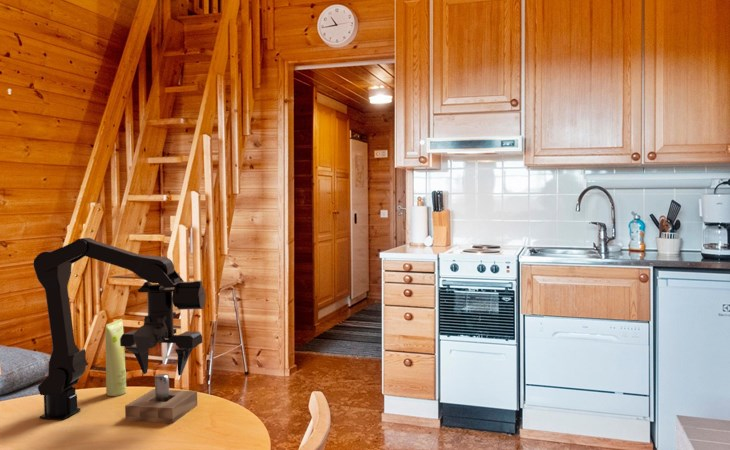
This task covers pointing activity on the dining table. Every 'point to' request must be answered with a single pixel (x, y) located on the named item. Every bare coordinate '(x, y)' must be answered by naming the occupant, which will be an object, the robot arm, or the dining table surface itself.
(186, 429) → the dining table surface
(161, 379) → the pin
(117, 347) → the tube
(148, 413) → the bore block
